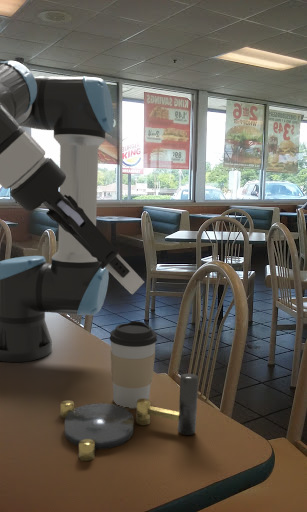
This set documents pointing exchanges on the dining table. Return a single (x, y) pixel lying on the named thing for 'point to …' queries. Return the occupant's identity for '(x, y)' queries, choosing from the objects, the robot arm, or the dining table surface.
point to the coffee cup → (132, 362)
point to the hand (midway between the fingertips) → (136, 287)
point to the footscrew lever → (186, 407)
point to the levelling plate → (96, 426)
